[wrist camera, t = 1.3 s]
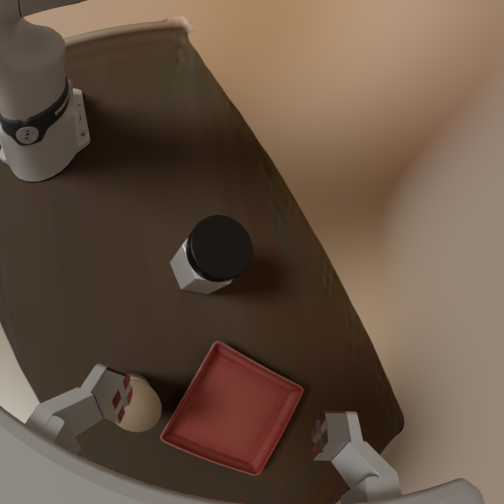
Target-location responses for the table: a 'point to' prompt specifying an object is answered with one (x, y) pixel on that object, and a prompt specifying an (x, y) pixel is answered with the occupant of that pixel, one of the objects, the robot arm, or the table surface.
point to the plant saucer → (233, 411)
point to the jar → (212, 255)
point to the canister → (141, 405)
